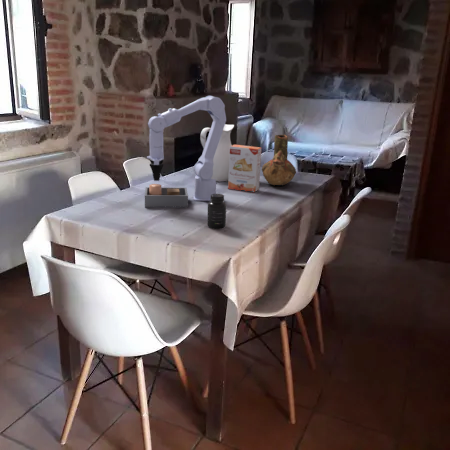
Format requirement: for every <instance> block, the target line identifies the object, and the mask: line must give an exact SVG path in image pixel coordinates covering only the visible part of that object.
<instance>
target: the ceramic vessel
mask: <svg viewBox="0 0 450 450" xmlns="http://www.w3.org/2000/svg"><path fill="white" fill-rule="evenodd" d="M273 141H274V143H273V157H272V159H270V160H269V161H267V162H265V163H264V164H263V165H262V166H261V171H262V175H263V177H264V179H265V180H266V182H267V183H268V185H269V184H270V185H272V186H275V185H282V186H285V185H286V184H288V183H290V182H291V181H292V180H293V179H294V177H295V175H296V174H297V169H296V167H295V166H294V165H293V163H292V161H290V160H288V153H289V152H288V145H289V143H288V142H289V139H288V136H287V135H286V134H276V135H274V140H273Z"/></svg>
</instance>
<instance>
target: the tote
mask: <svg viewBox="0 0 450 450" xmlns="http://www.w3.org/2000/svg"><path fill="white" fill-rule="evenodd" d="M144 189H145V190H144V208H162V209H163V208H174V209H175V208H179V209H180V208H188V207H189V194H188V189H187V187H162V186H161V195H149V186H147V187H146V186H145V188H144ZM167 189H179V195H167Z"/></svg>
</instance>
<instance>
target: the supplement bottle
mask: <svg viewBox="0 0 450 450" xmlns="http://www.w3.org/2000/svg"><path fill="white" fill-rule="evenodd" d="M210 200H211V201H208V203H207V223H206V225H207V227H208V228H209V229H212V230H222V229H224V228H226V225H227V204H226V202H225V195H224V194H222V193H216V194H212V195H211V199H210Z"/></svg>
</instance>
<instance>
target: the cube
mask: <svg viewBox="0 0 450 450" xmlns="http://www.w3.org/2000/svg"><path fill="white" fill-rule="evenodd" d="M167 195H179V189H167Z"/></svg>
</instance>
